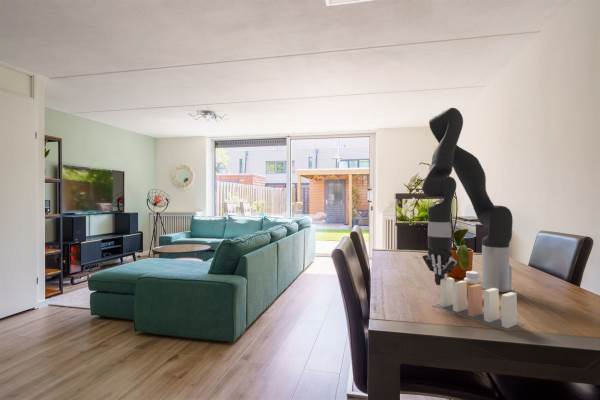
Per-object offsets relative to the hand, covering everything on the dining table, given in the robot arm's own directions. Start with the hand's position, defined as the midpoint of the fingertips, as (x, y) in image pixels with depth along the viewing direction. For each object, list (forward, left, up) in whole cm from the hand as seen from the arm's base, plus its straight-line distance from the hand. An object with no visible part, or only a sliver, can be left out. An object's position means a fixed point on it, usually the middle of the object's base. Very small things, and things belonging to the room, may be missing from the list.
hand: (439, 284), depth 111 cm
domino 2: (-3, +7, -6) cm, 10 cm away
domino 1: (-1, +2, -6) cm, 7 cm away
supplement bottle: (-15, -3, -7) cm, 16 cm away
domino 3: (-5, +11, -6) cm, 14 cm away
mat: (-5, +11, -7) cm, 14 cm away
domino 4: (-6, +16, -6) cm, 19 cm away
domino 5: (-8, +21, -6) cm, 23 cm away
